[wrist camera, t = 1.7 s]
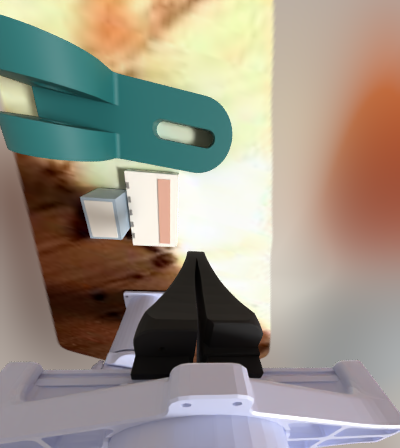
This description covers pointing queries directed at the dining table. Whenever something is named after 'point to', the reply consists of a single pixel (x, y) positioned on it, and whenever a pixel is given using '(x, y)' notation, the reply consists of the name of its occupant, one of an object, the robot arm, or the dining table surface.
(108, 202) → the stub
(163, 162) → the bracket
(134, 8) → the dining table surface
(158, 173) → the spiral notebook
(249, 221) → the dining table surface
